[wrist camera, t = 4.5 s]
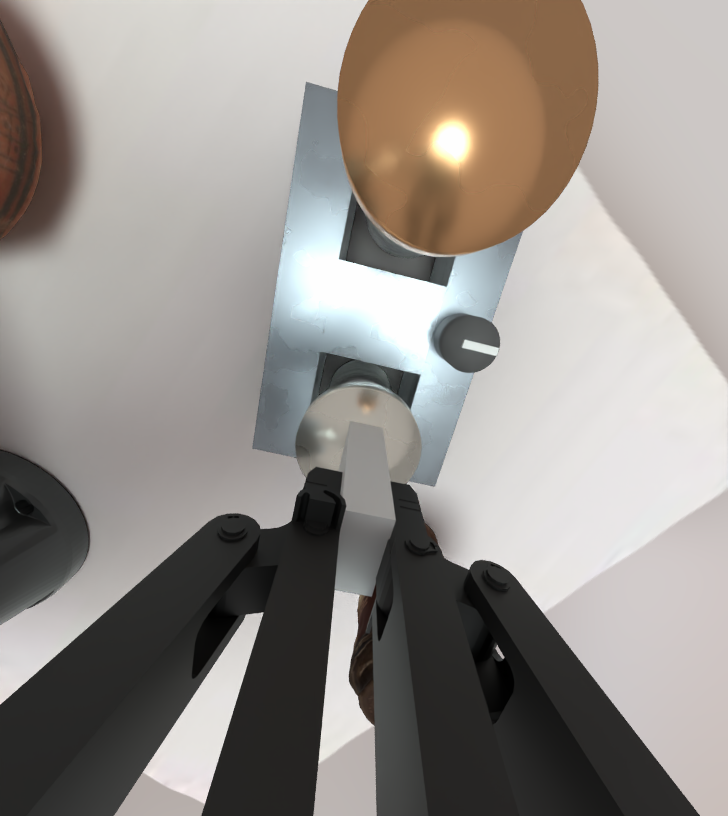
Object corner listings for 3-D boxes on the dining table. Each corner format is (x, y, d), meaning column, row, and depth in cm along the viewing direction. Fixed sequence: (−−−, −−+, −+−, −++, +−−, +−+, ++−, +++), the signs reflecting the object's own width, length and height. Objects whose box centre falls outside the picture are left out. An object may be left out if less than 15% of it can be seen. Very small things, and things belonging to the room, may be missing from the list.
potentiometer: (427, 356, 20) (437, 366, 17) (442, 308, 19) (454, 310, 17) (474, 368, 20) (490, 379, 18) (490, 319, 19) (509, 324, 17)
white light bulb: (314, 416, 26) (285, 490, 17) (329, 341, 24) (307, 375, 15) (388, 433, 27) (402, 513, 17) (408, 360, 25) (437, 404, 15)
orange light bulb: (340, 257, 18) (315, 219, 8) (366, 127, 16) (371, -111, 7) (446, 284, 19) (537, 278, 9) (483, 160, 17) (646, -17, 7)
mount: (275, 415, 28) (252, 448, 22) (320, 136, 22) (306, 81, 16) (420, 447, 28) (434, 486, 23) (502, 188, 23) (549, 153, 17)
